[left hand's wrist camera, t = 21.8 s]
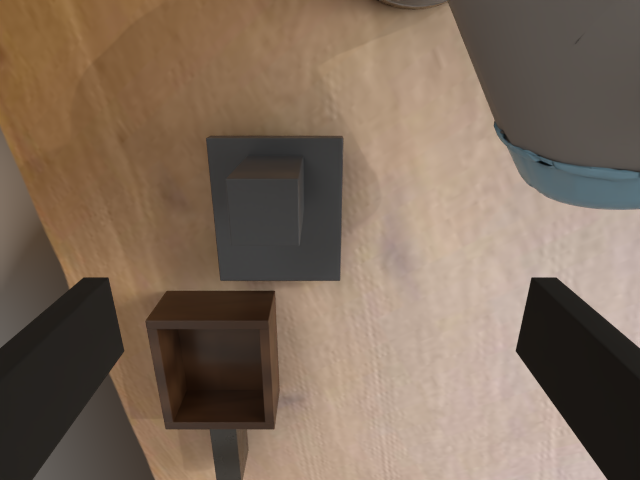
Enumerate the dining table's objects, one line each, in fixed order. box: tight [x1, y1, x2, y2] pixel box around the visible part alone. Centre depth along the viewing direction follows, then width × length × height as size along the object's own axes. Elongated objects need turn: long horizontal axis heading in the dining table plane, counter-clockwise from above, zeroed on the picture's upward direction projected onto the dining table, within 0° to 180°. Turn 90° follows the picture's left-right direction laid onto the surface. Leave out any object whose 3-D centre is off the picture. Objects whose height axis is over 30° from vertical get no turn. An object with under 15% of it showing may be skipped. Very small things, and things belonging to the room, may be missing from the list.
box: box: [146, 291, 280, 480], centre depth 47 cm, size 24×12×6 cm, turn 0°
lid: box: [206, 136, 343, 281], centre depth 36 cm, size 14×12×12 cm
